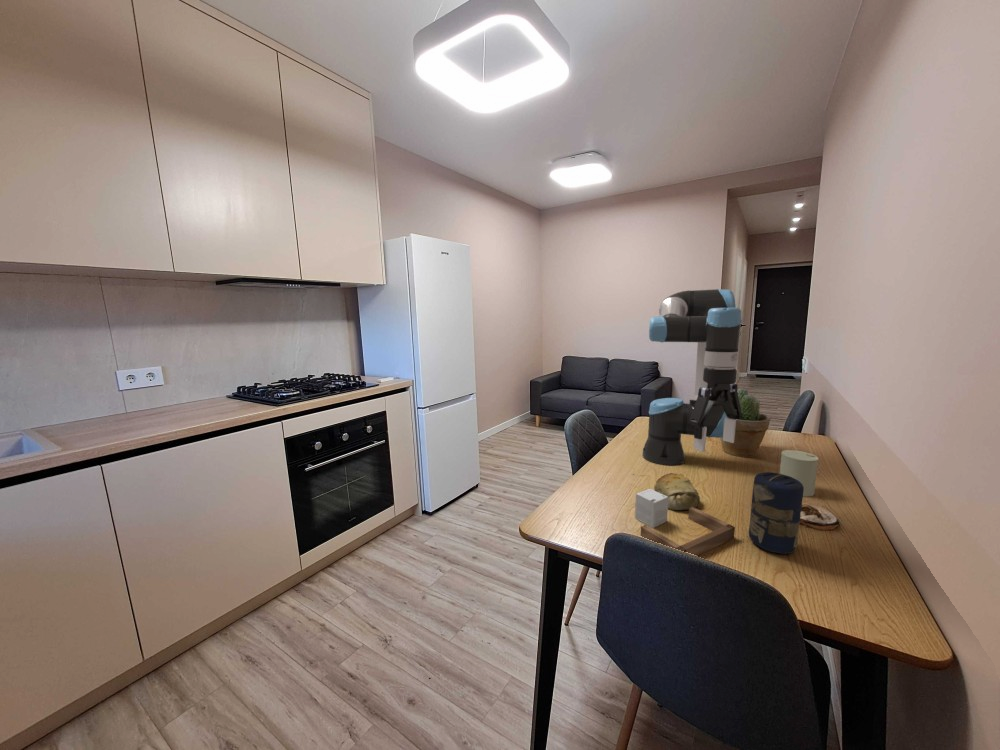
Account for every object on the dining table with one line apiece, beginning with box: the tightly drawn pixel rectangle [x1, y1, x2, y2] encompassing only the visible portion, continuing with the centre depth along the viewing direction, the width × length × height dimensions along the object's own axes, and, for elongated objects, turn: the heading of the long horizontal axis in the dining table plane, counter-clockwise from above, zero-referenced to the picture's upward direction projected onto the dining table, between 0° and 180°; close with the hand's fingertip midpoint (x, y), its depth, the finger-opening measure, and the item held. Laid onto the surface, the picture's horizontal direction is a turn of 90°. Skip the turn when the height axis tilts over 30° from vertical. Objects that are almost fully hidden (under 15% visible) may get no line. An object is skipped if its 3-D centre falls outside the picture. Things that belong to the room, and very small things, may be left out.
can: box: [779, 449, 819, 498], centre depth 118 cm, size 9×9×12 cm
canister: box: [748, 471, 804, 555], centre depth 90 cm, size 10×10×18 cm
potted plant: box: [719, 388, 772, 458], centre depth 150 cm, size 18×19×25 cm
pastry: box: [653, 472, 701, 511], centre depth 113 cm, size 14×12×8 cm
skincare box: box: [634, 488, 669, 529], centre depth 102 cm, size 6×6×7 cm
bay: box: [640, 507, 736, 556], centre depth 94 cm, size 12×20×3 cm, turn 118°
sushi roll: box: [799, 502, 840, 531], centre depth 103 cm, size 15×15×4 cm
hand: (714, 445), depth 102 cm, fingers open, 13 cm apart
